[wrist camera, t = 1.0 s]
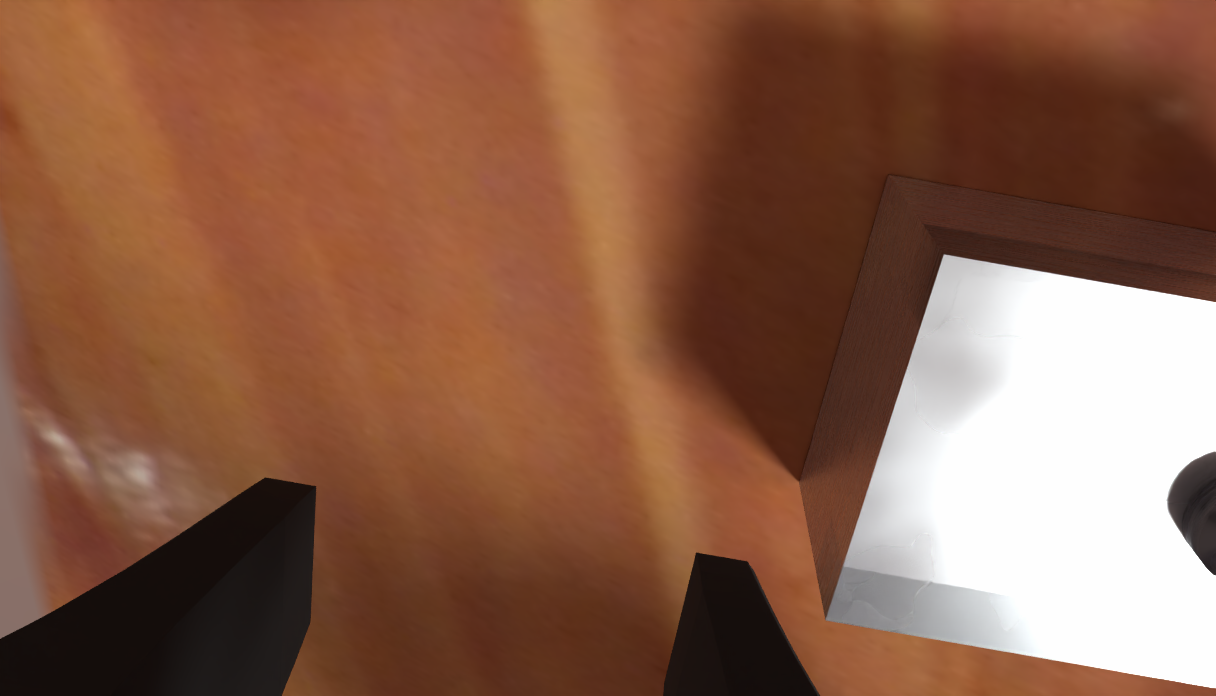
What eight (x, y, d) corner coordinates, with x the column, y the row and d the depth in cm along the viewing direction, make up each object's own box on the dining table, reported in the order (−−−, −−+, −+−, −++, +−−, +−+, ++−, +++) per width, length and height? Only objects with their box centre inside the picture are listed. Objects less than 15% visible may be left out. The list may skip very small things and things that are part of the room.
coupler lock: (799, 483, 22) (829, 643, 17) (888, 174, 19) (953, 268, 14) (1158, 546, 22) (1284, 722, 17) (1303, 247, 19) (1501, 365, 14)
